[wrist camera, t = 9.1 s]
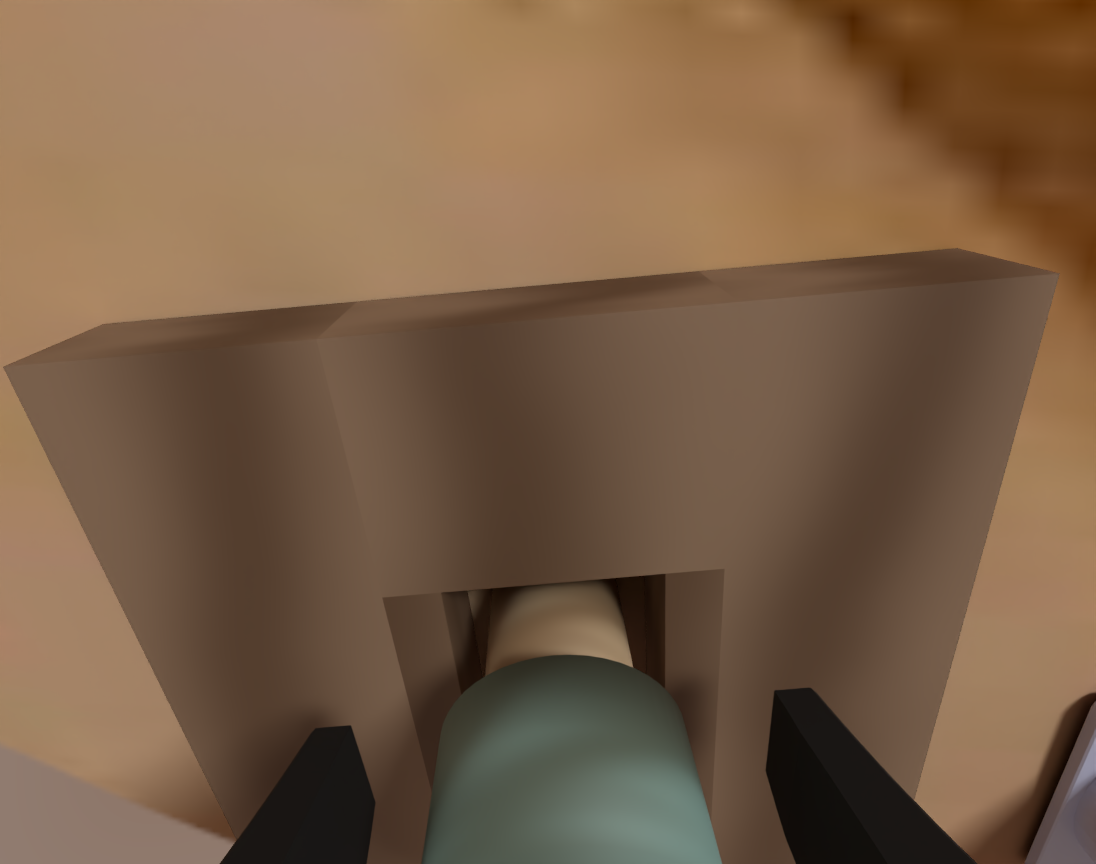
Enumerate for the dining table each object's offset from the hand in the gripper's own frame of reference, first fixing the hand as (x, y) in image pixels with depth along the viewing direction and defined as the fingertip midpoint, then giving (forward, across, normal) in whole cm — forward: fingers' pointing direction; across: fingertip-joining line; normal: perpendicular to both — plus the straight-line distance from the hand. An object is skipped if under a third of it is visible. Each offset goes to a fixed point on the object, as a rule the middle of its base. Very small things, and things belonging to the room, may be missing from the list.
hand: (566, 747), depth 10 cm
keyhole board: (+4, 0, +4) cm, 6 cm away
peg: (+4, 0, 0) cm, 4 cm away
